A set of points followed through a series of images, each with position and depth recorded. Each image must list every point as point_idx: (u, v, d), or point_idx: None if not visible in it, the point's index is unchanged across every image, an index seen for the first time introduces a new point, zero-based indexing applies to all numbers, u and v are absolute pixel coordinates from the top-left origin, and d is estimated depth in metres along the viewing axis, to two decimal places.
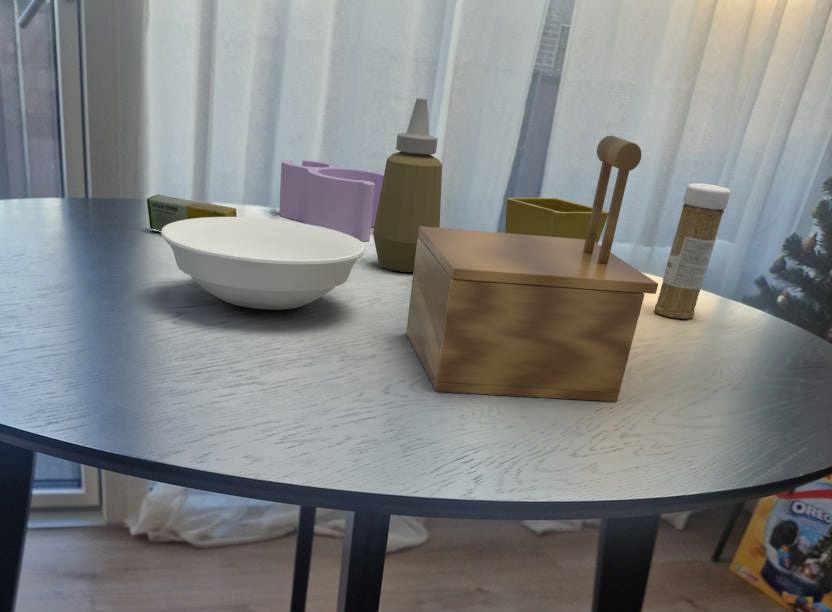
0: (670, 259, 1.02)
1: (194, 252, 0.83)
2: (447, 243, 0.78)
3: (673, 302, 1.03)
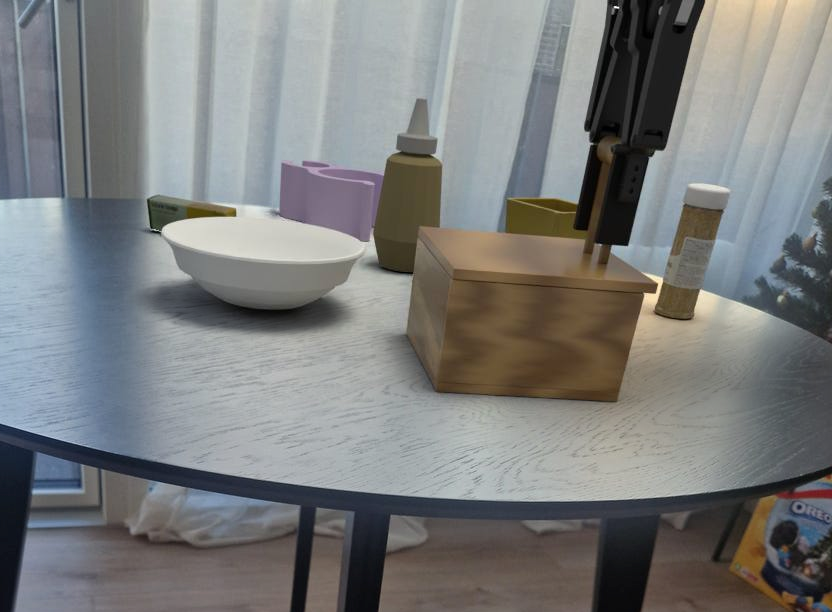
0: (670, 259, 1.02)
1: (194, 252, 0.83)
2: (447, 243, 0.78)
3: (673, 302, 1.03)
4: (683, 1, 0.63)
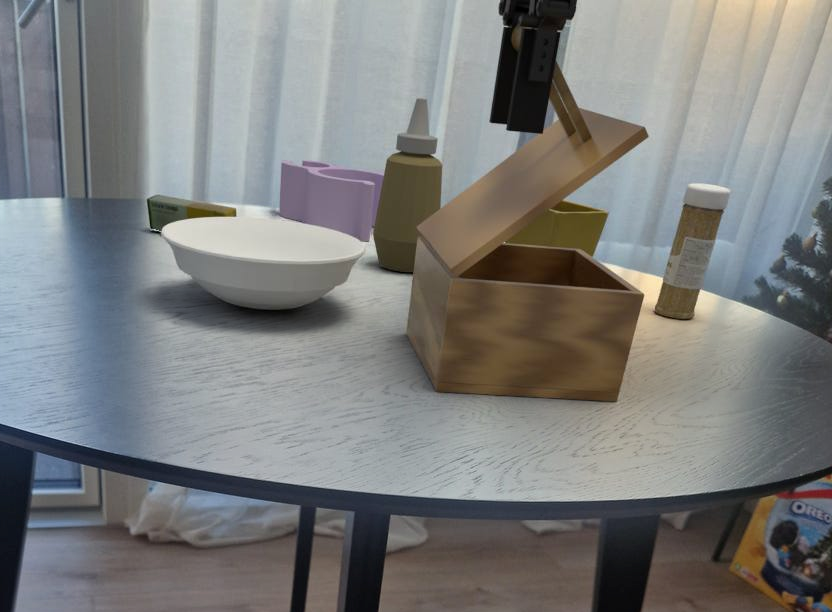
0: (670, 259, 1.02)
1: (194, 252, 0.83)
2: (442, 233, 0.78)
3: (673, 302, 1.03)
4: None
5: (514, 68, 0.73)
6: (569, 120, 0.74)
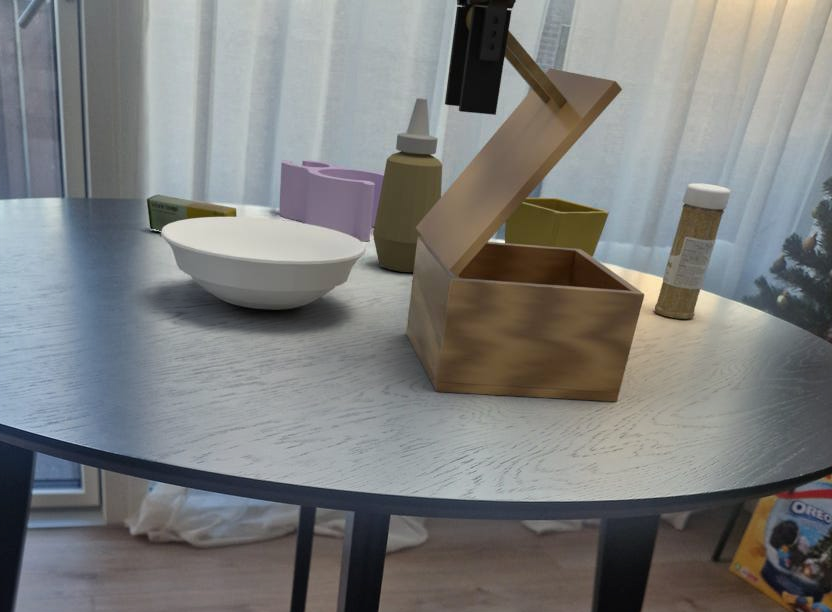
0: (670, 259, 1.02)
1: (194, 252, 0.83)
2: (439, 231, 0.78)
3: (673, 302, 1.03)
4: None
5: None
6: None
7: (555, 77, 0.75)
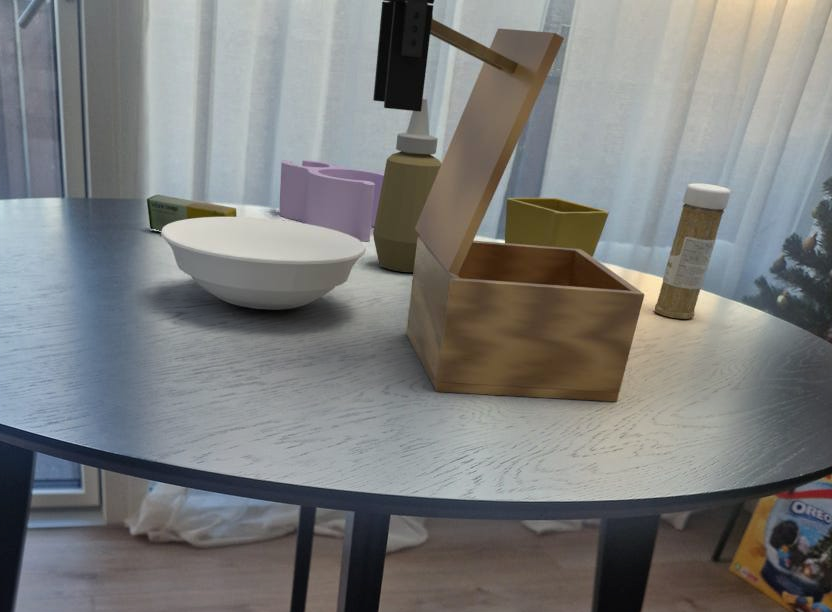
0: (670, 259, 1.02)
1: (194, 252, 0.83)
2: (434, 230, 0.77)
3: (673, 302, 1.03)
4: None
5: None
6: None
7: (504, 38, 0.73)
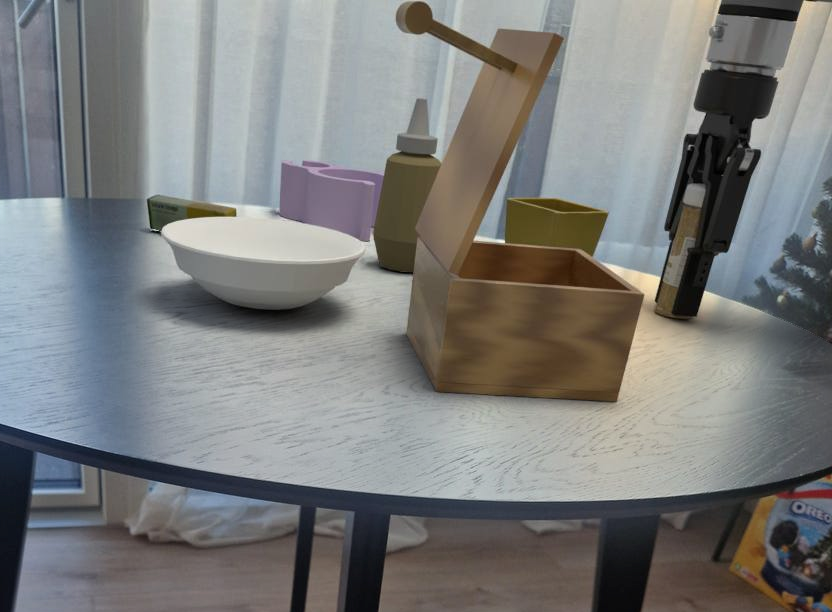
0: (670, 259, 1.02)
1: (194, 252, 0.83)
2: (434, 230, 0.77)
3: (673, 302, 1.03)
4: (745, 156, 0.91)
5: None
6: None
7: (504, 38, 0.73)
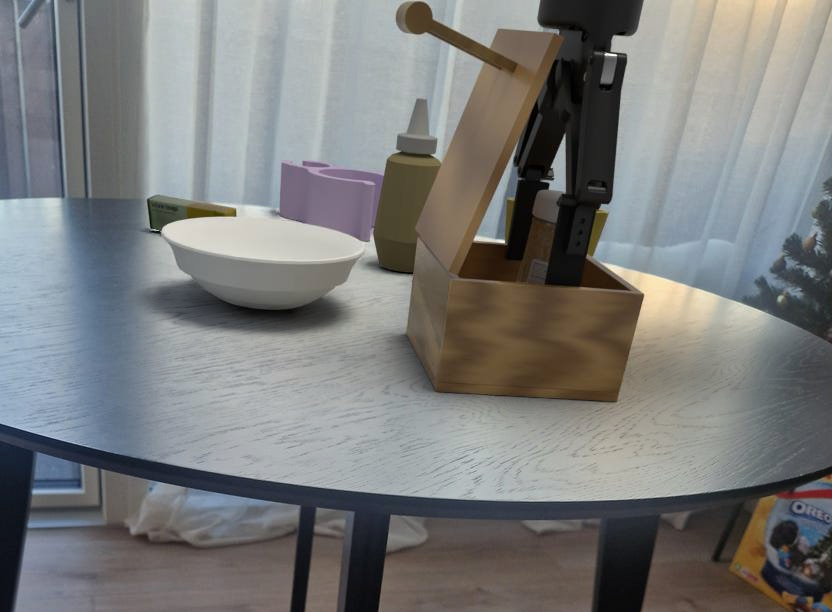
0: None
1: (194, 252, 0.83)
2: (434, 230, 0.77)
3: None
4: (606, 58, 0.65)
5: (527, 214, 0.82)
6: None
7: (504, 38, 0.73)
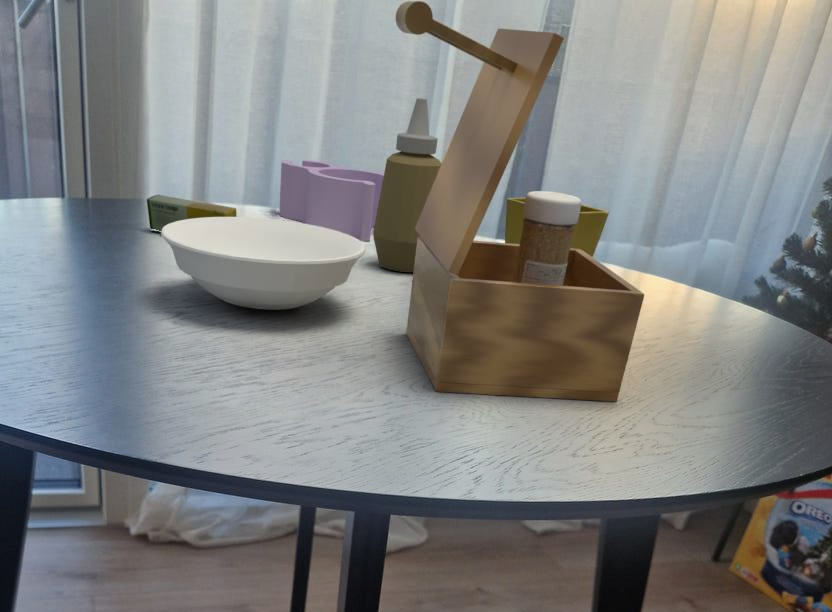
0: None
1: (194, 252, 0.83)
2: (434, 230, 0.77)
3: None
4: None
5: None
6: None
7: (504, 38, 0.73)
